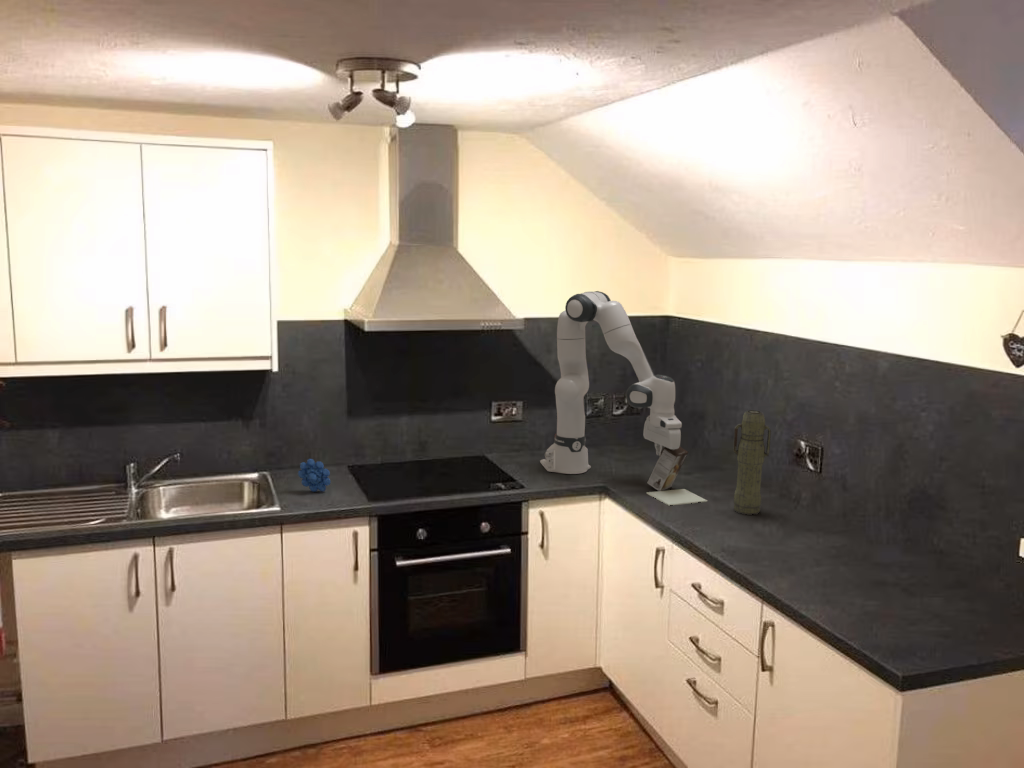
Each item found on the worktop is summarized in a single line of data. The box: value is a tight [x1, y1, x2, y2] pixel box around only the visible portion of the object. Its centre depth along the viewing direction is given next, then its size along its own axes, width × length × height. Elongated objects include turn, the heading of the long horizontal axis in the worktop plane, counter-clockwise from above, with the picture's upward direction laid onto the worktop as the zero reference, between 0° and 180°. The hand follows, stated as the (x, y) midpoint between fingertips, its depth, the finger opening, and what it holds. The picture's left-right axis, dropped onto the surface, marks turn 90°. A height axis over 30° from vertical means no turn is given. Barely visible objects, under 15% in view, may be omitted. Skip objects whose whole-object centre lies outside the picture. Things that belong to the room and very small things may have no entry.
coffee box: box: [646, 446, 690, 491], centre depth 319 cm, size 9×6×16 cm
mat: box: [646, 488, 708, 507], centre depth 311 cm, size 15×16×1 cm
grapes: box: [297, 458, 331, 493], centre depth 304 cm, size 12×7×12 cm, turn 89°
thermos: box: [732, 409, 772, 516], centre depth 295 cm, size 9×12×35 cm
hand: (660, 455), depth 321 cm, fingers closed
